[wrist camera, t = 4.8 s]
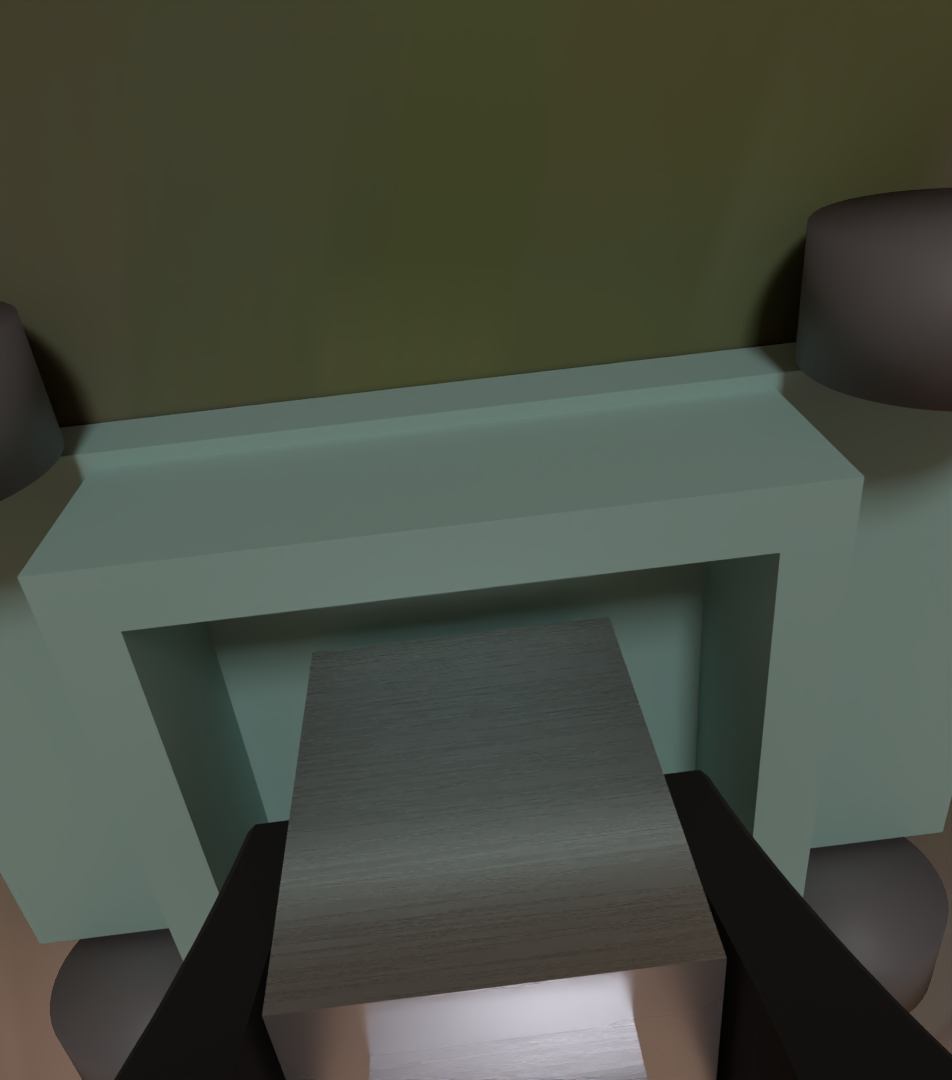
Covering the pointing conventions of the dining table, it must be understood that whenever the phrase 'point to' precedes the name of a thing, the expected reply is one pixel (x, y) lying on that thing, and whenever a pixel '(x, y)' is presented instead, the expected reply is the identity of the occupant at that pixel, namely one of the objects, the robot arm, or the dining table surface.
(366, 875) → the block
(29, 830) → the chassis
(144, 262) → the dining table surface
